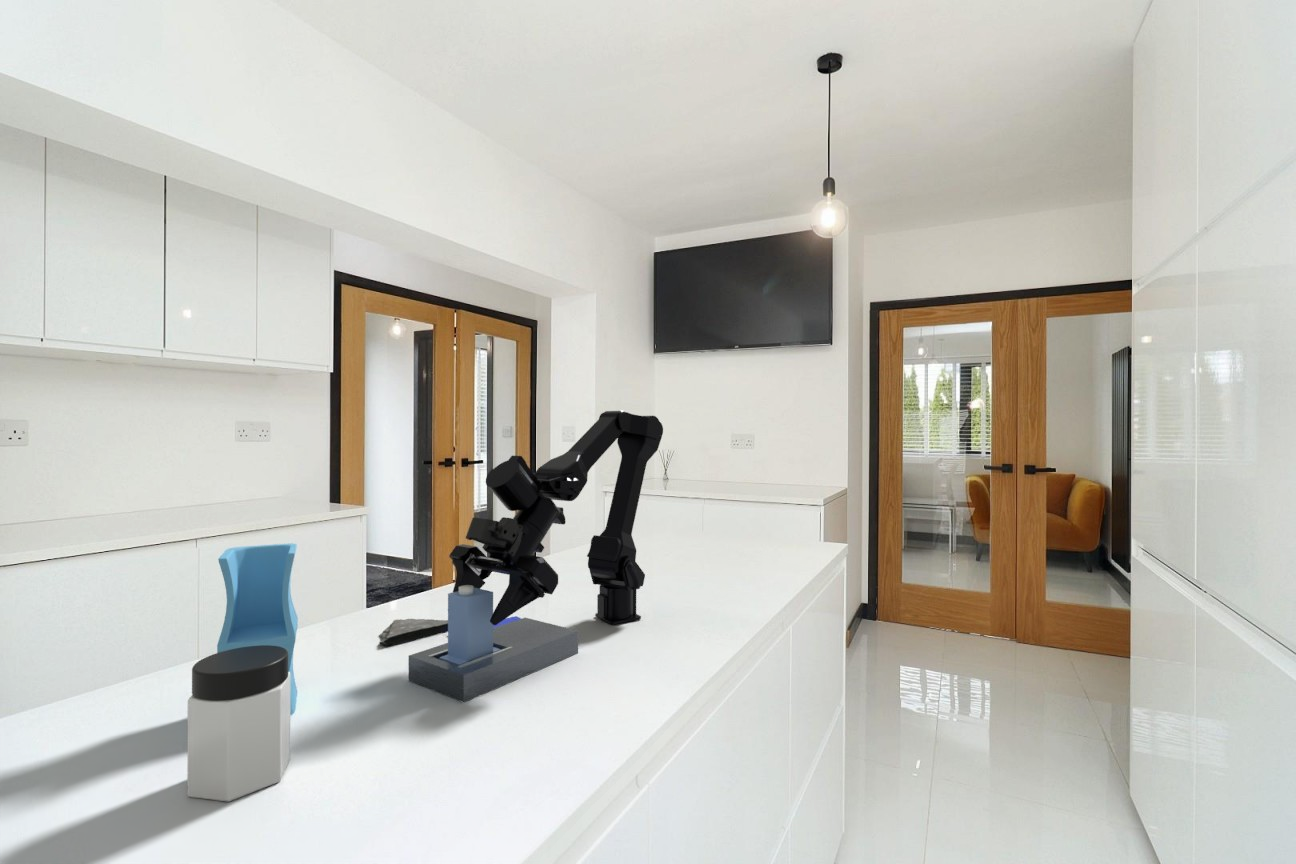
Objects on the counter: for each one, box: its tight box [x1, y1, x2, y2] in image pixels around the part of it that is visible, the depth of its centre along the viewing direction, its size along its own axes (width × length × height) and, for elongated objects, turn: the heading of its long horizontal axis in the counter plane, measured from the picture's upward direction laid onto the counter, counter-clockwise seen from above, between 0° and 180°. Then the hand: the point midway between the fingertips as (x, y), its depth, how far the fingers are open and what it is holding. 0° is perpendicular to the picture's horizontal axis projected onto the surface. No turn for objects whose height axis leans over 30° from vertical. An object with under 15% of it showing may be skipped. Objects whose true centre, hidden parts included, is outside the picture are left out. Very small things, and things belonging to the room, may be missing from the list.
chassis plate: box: [408, 617, 579, 703], centre depth 92 cm, size 22×12×4 cm, turn 145°
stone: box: [378, 618, 448, 646], centre depth 108 cm, size 13×10×2 cm
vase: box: [216, 542, 299, 716], centre depth 77 cm, size 8×8×20 cm
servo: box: [439, 585, 501, 666], centre depth 88 cm, size 7×4×13 cm, turn 144°
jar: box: [186, 645, 291, 803], centre depth 62 cm, size 9×8×12 cm
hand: (470, 617), depth 88 cm, fingers open, 9 cm apart
